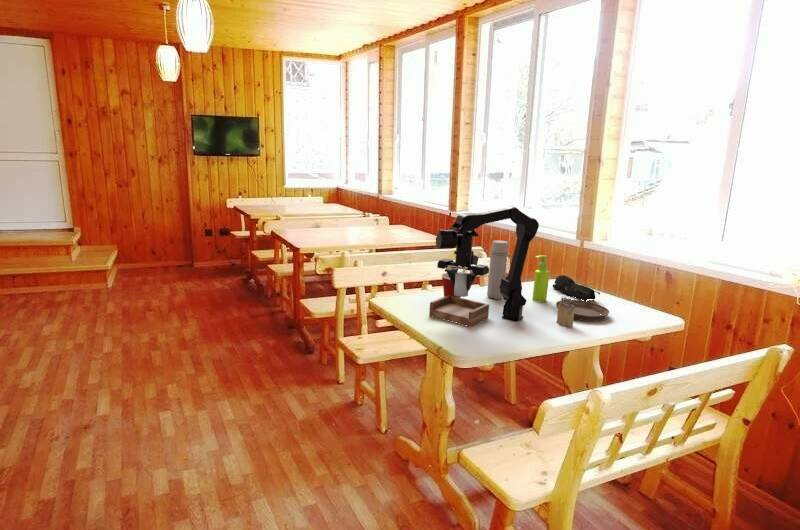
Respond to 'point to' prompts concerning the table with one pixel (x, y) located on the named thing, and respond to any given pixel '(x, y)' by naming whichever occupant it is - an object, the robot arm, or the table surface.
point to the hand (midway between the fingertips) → (461, 289)
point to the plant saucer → (588, 310)
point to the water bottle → (497, 268)
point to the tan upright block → (565, 312)
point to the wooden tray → (459, 310)
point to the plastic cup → (447, 285)
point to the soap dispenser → (541, 280)
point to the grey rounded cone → (460, 284)
